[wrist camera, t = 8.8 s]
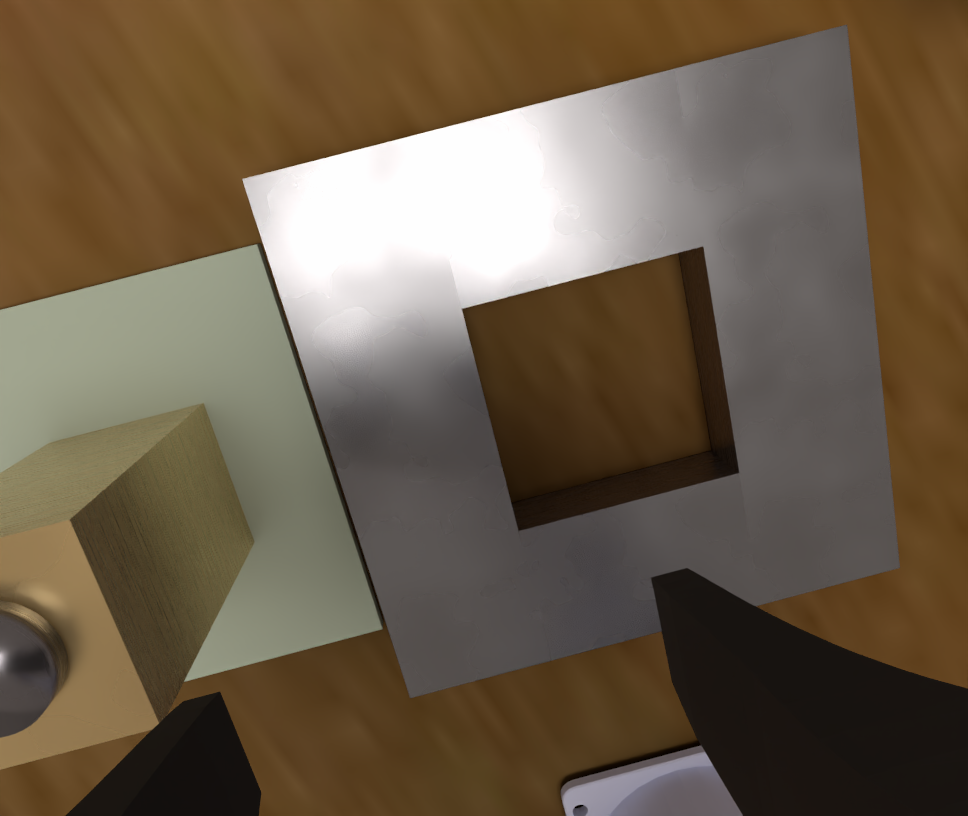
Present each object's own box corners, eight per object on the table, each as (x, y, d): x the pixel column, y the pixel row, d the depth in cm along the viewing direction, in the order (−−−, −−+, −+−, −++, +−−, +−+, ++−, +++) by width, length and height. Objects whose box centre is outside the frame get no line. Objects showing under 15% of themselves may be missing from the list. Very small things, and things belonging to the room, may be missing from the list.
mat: (383, 622, 23) (382, 629, 23) (73, 704, 23) (67, 712, 22) (260, 243, 20) (257, 244, 19) (-102, 336, 20) (-113, 338, 19)
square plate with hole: (860, 538, 24) (899, 567, 22) (411, 657, 23) (410, 698, 21) (805, 43, 19) (847, 24, 18) (260, 182, 19) (242, 179, 17)
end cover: (254, 542, 21) (148, 749, 13) (109, 580, 21) (-89, 813, 13) (203, 402, 20) (52, 534, 12) (49, 442, 20) (-210, 602, 12)
